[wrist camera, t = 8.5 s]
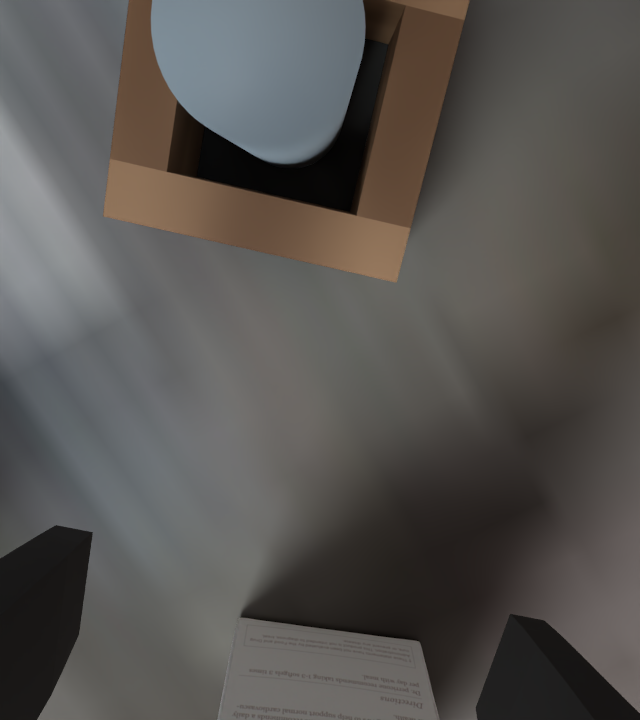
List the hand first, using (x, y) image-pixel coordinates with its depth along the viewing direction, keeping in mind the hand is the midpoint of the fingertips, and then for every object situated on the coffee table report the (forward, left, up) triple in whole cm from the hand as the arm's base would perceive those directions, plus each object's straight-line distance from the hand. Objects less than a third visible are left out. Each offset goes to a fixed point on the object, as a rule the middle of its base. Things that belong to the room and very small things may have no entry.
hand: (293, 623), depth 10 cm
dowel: (-2, +9, -10) cm, 14 cm away
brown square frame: (-2, +9, -10) cm, 14 cm away
